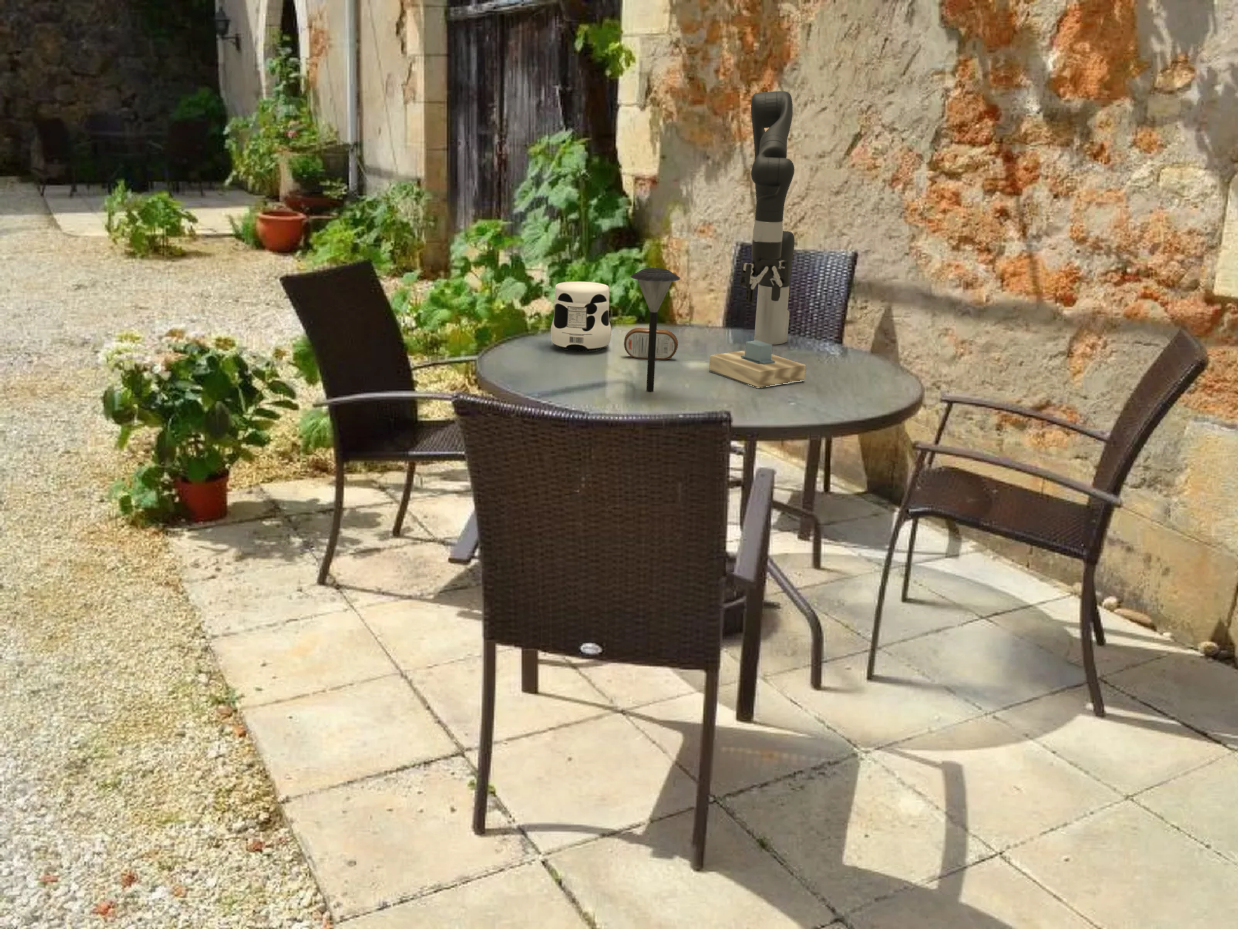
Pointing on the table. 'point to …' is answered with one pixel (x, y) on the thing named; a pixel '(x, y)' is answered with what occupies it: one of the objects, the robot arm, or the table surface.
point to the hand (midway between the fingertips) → (762, 302)
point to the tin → (639, 341)
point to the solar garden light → (653, 308)
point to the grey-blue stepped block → (758, 352)
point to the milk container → (581, 316)
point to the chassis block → (756, 369)
